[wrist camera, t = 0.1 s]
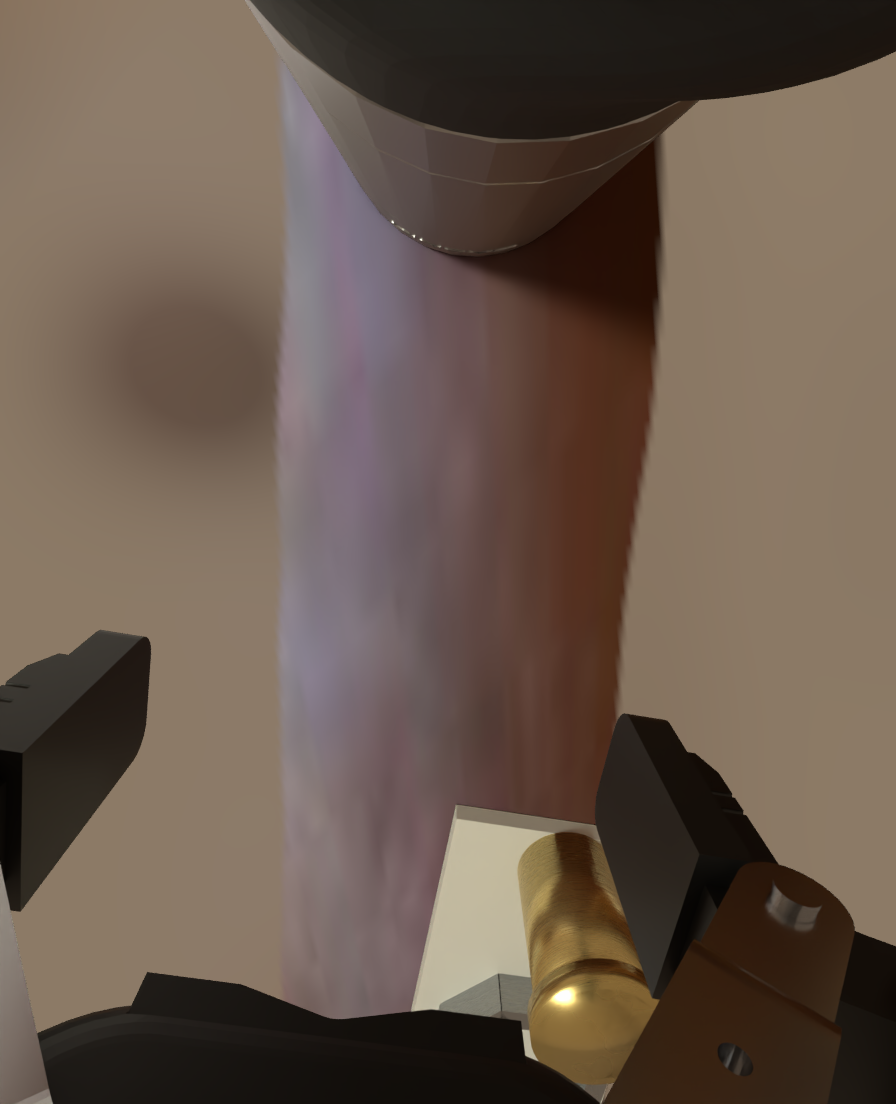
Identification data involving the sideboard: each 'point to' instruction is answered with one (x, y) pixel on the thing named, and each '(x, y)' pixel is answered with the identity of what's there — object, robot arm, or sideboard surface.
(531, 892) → the knob
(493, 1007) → the grey octagonal ring
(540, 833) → the board
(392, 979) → the sideboard surface
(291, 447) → the sideboard surface
